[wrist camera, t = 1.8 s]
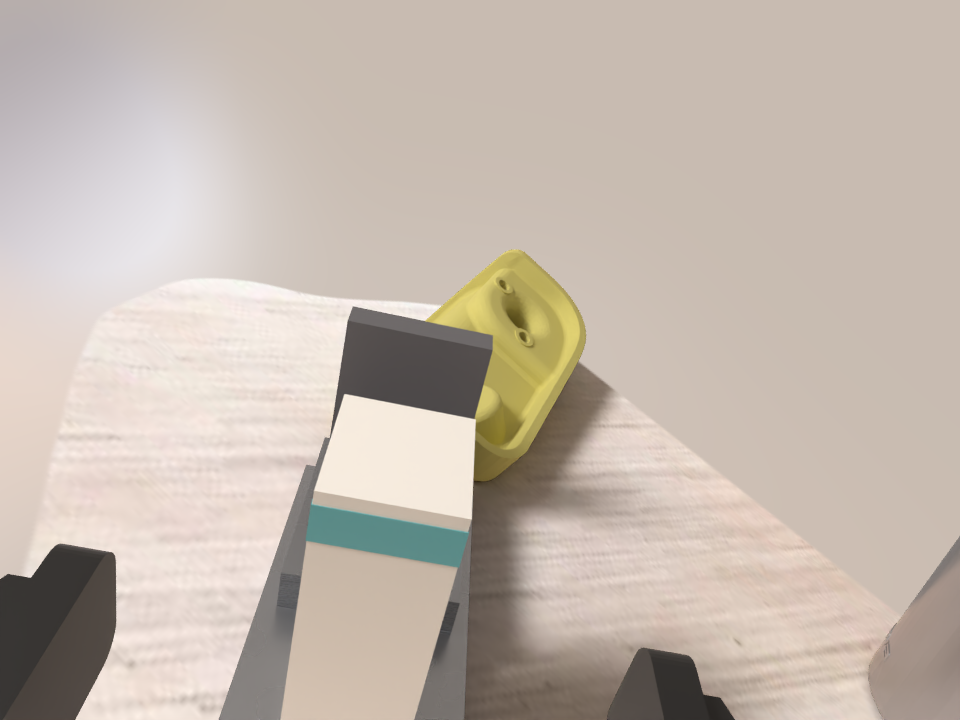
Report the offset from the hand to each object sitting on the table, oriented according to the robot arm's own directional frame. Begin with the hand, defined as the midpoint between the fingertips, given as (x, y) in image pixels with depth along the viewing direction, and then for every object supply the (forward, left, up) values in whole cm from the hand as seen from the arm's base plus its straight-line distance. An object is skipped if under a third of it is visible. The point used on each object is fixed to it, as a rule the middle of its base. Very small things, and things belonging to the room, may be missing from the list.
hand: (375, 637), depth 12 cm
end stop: (+18, -18, -18) cm, 31 cm away
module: (+8, -8, -17) cm, 20 cm away
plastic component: (+22, -29, -19) cm, 41 cm away
